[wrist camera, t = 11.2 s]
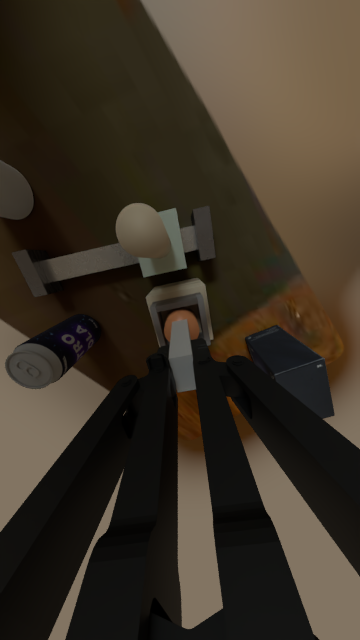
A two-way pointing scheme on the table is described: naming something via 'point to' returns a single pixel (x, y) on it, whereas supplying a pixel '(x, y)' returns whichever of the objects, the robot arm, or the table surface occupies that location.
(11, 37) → the table surface
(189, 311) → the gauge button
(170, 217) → the carriage
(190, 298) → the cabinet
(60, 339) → the beverage can
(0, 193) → the mug
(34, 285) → the rail
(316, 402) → the small box
